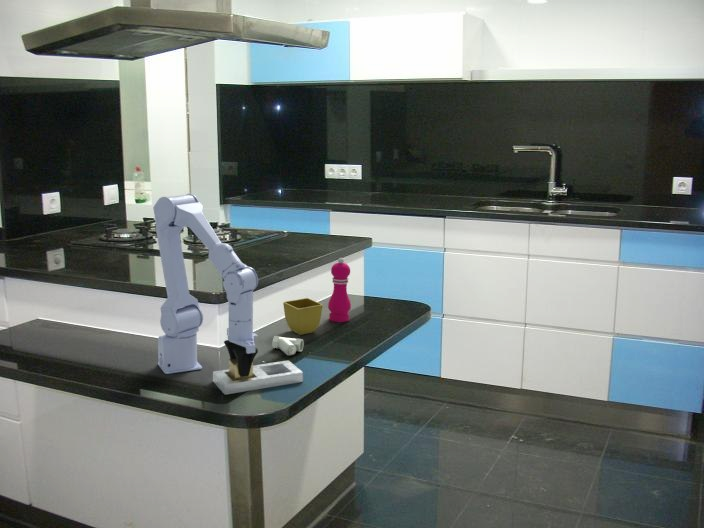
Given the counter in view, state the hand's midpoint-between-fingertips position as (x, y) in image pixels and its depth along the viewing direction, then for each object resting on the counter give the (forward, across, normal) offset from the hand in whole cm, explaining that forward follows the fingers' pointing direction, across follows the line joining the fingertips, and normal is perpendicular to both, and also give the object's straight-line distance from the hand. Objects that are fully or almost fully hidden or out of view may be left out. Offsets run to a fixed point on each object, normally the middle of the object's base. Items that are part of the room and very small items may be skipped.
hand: (240, 372), depth 176 cm
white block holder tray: (+3, 0, -4) cm, 5 cm away
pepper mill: (+3, +38, -46) cm, 60 cm away
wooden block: (+3, 0, 0) cm, 3 cm away
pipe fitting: (+4, +17, -19) cm, 26 cm away
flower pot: (+3, +31, -30) cm, 44 cm away
